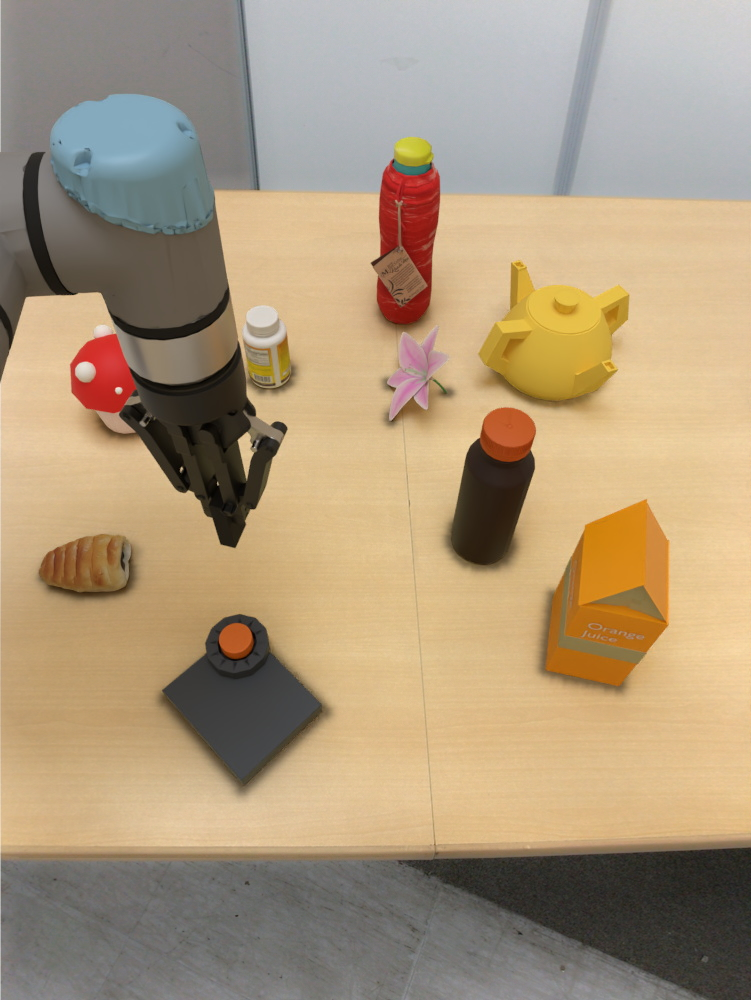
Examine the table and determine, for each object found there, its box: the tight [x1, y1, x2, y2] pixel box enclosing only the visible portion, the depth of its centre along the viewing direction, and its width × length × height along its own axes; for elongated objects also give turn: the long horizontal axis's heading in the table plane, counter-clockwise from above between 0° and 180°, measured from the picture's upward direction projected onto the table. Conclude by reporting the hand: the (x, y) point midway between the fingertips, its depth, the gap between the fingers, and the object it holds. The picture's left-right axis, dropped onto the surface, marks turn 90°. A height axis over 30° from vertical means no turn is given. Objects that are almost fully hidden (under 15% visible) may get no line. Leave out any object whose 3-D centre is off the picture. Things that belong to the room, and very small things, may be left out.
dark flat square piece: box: [161, 613, 323, 786], centre depth 72 cm, size 13×11×4 cm
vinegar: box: [450, 406, 537, 565], centre depth 76 cm, size 7×7×20 cm
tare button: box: [219, 623, 254, 659], centre depth 73 cm, size 3×3×2 cm
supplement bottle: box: [241, 304, 292, 389], centre depth 94 cm, size 6×6×10 cm
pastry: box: [38, 533, 132, 593], centre depth 80 cm, size 9×7×4 cm
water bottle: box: [370, 136, 441, 325], centre depth 95 cm, size 12×8×25 cm, turn 161°
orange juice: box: [544, 498, 670, 687], centre depth 70 cm, size 8×9×20 cm
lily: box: [386, 324, 451, 422], centre depth 94 cm, size 12×12×10 cm
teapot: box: [477, 259, 630, 402], centre depth 95 cm, size 17×17×12 cm
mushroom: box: [69, 324, 136, 435], centre depth 89 cm, size 11×11×12 cm
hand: (233, 534), depth 69 cm, fingers closed
